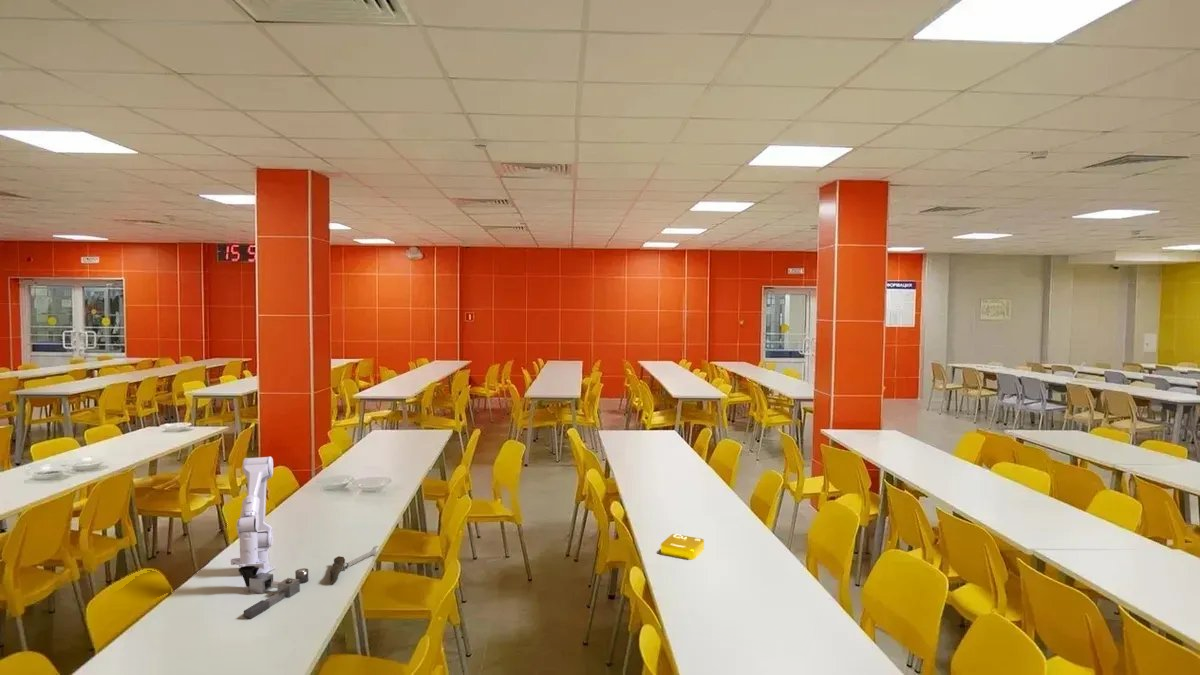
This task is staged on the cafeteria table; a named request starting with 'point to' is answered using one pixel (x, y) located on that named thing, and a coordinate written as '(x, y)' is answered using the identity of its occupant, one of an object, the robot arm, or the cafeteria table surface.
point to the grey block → (260, 583)
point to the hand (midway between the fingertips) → (249, 585)
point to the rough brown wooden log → (336, 569)
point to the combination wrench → (372, 552)
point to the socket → (302, 575)
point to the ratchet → (274, 597)
